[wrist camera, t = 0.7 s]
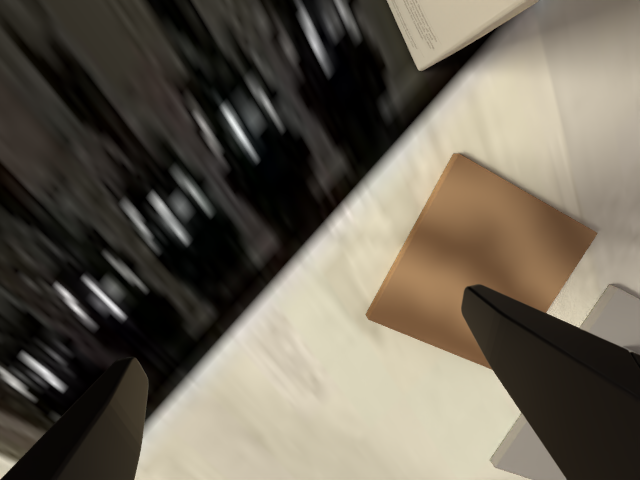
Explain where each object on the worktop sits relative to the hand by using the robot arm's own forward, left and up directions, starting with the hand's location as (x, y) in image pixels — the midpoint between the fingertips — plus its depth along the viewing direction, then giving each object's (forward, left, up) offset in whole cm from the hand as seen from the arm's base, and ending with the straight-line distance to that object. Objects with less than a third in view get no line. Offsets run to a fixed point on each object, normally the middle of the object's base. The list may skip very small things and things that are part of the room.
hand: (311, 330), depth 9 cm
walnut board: (+3, -16, -15) cm, 22 cm away
